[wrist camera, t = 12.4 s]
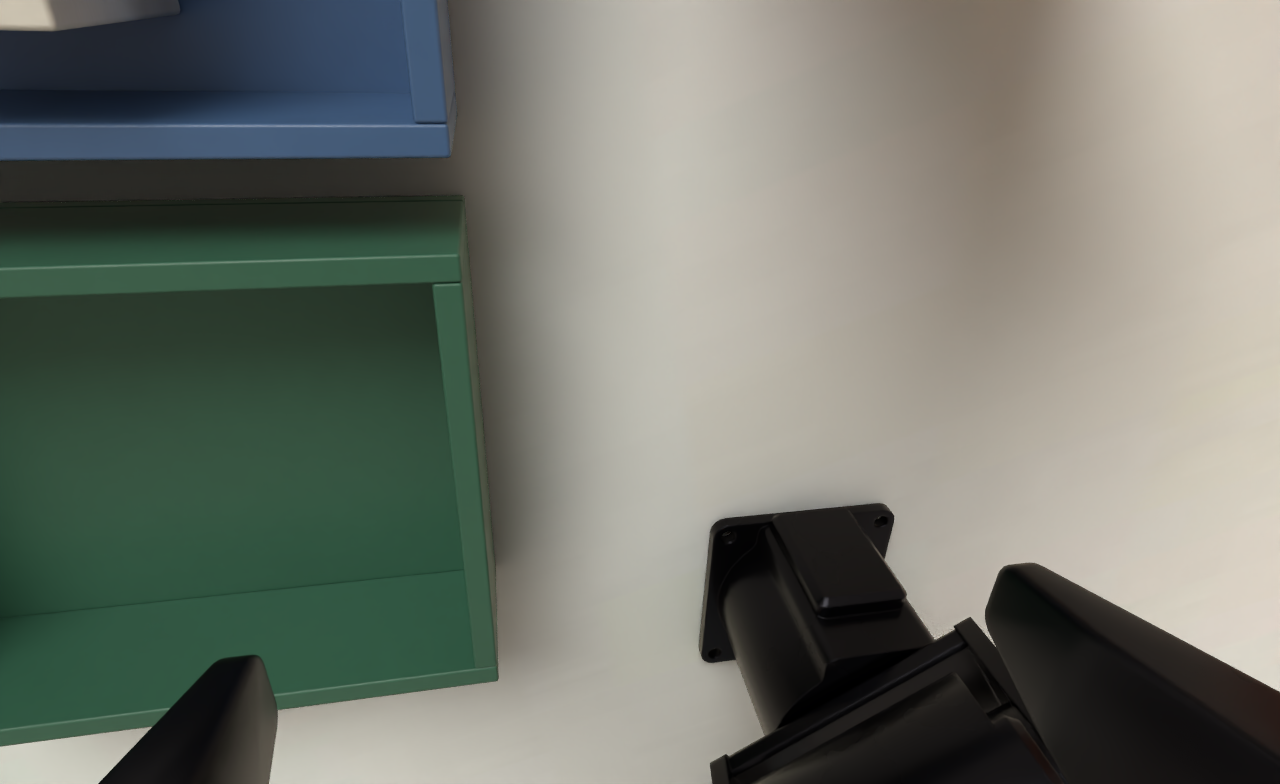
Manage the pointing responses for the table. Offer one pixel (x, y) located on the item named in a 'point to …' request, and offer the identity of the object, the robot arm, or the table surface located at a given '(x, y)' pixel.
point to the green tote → (237, 455)
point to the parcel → (78, 13)
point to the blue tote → (235, 84)
